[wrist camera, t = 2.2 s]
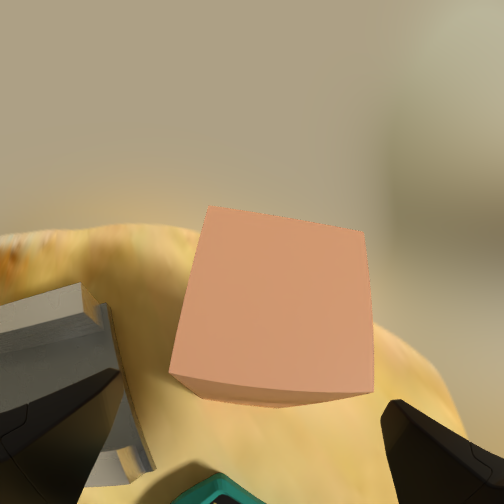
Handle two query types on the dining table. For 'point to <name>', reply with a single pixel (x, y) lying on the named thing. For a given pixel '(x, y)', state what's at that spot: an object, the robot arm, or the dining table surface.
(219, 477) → the digital multimeter
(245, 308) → the terracotta block
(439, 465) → the robot arm
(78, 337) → the bench vise
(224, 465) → the dining table surface
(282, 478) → the dining table surface
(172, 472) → the dining table surface
